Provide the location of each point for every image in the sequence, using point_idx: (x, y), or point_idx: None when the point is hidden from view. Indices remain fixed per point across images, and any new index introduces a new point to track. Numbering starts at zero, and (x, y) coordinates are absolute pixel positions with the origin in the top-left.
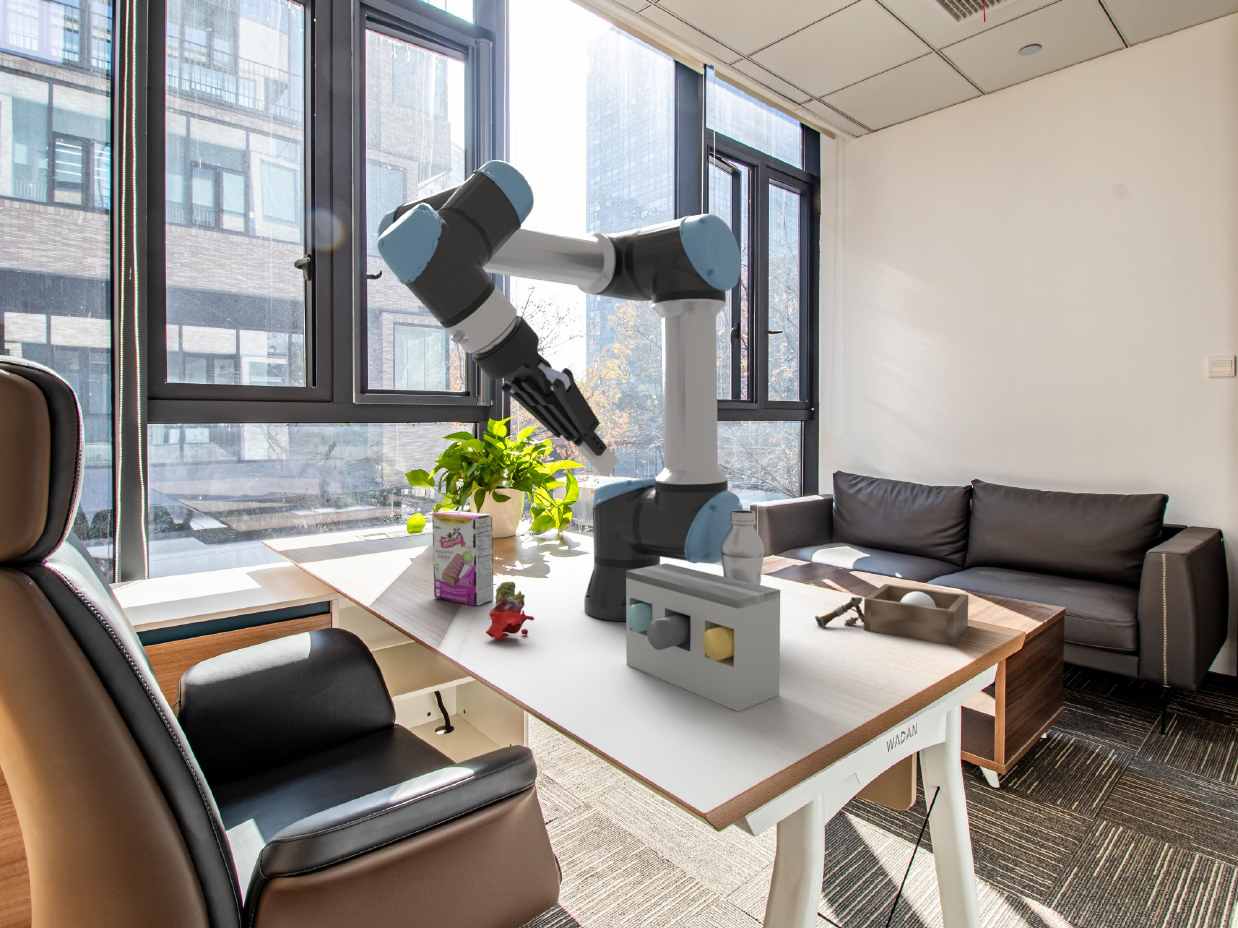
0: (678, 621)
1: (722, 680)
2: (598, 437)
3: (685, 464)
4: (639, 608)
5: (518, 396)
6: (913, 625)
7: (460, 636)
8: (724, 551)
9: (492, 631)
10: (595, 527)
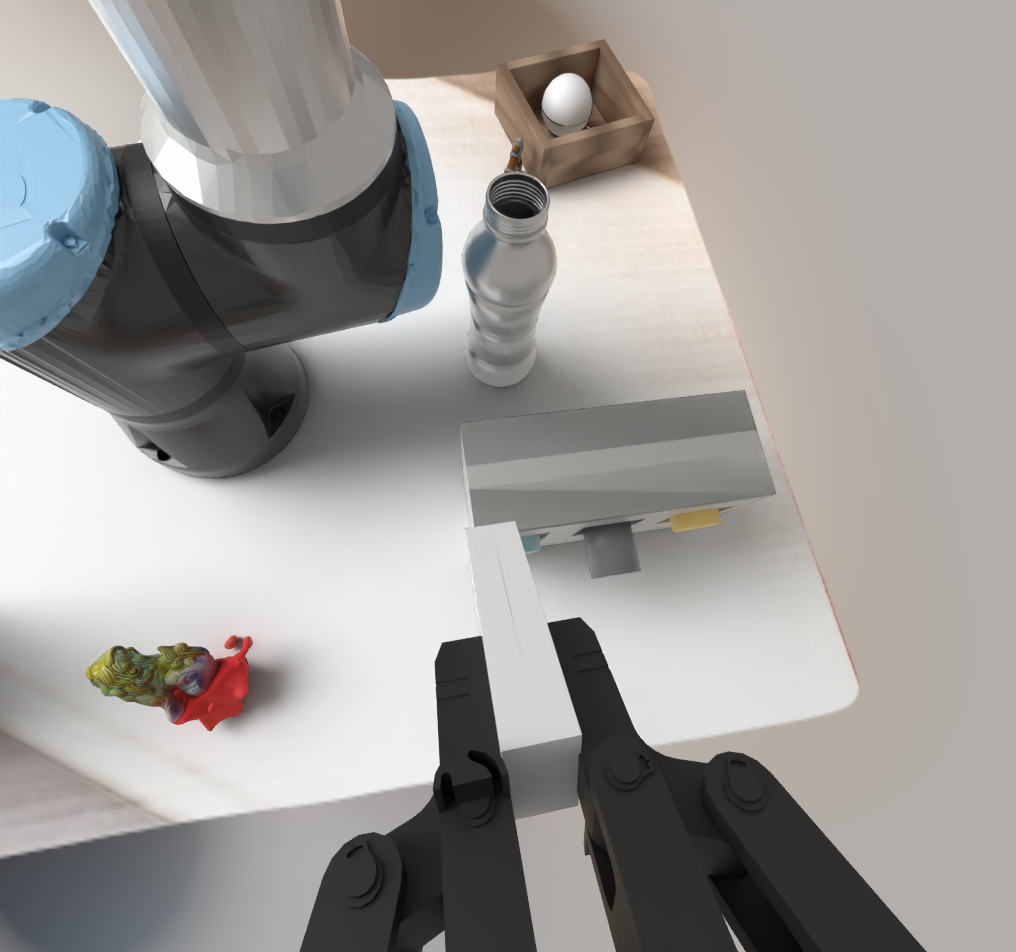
0: (629, 534)
1: None
2: (617, 691)
3: (309, 120)
4: (530, 549)
5: None
6: (600, 158)
7: (152, 764)
8: (505, 302)
9: (219, 719)
10: (60, 382)
